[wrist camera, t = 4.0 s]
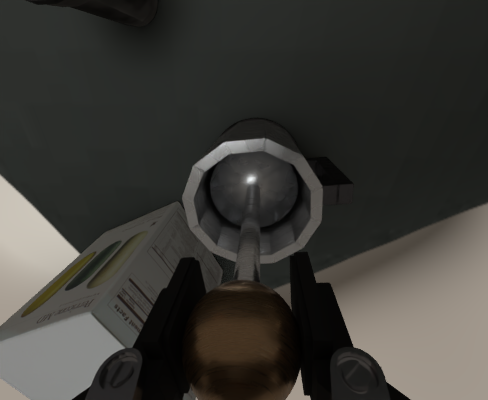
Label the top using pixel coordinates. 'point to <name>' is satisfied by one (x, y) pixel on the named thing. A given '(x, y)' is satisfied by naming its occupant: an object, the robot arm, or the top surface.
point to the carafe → (296, 220)
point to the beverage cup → (112, 9)
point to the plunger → (245, 294)
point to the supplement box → (98, 305)
